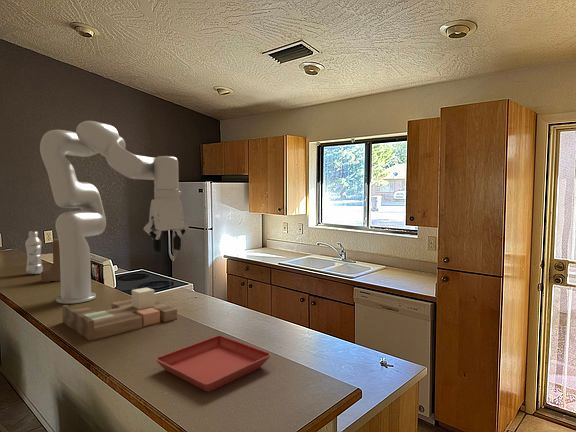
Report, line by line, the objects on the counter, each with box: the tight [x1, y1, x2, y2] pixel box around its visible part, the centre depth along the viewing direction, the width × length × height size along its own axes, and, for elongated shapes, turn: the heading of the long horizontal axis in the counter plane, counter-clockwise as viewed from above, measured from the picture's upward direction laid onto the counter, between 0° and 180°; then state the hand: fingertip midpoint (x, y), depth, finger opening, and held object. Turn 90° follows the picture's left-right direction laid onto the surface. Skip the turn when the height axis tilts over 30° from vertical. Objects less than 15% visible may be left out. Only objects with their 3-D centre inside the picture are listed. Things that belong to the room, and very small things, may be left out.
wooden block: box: [40, 238, 61, 283], centre depth 173 cm, size 9×4×18 cm, turn 116°
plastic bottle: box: [24, 231, 44, 275], centre depth 186 cm, size 6×7×20 cm
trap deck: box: [61, 298, 178, 341], centre depth 119 cm, size 21×25×5 cm
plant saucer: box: [155, 335, 272, 393], centre depth 86 cm, size 18×18×3 cm
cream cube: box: [131, 287, 156, 309], centre depth 124 cm, size 5×5×5 cm
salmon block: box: [136, 308, 161, 327], centre depth 118 cm, size 5×5×4 cm
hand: (167, 250), depth 129 cm, fingers open, 6 cm apart
